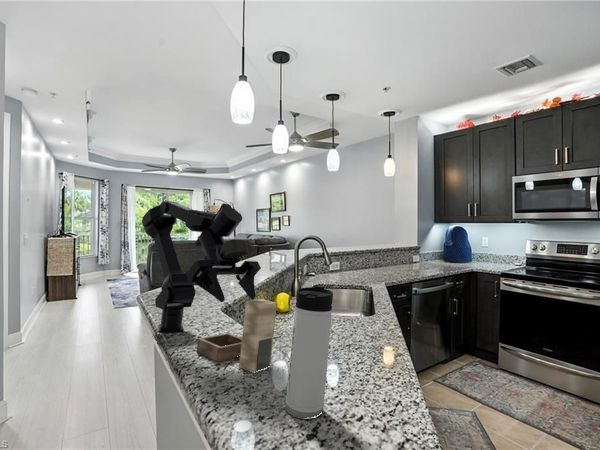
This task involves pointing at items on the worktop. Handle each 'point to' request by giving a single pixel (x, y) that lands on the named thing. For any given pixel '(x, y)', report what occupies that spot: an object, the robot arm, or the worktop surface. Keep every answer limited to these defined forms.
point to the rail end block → (257, 335)
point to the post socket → (220, 347)
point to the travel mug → (309, 352)
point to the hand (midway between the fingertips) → (239, 299)
